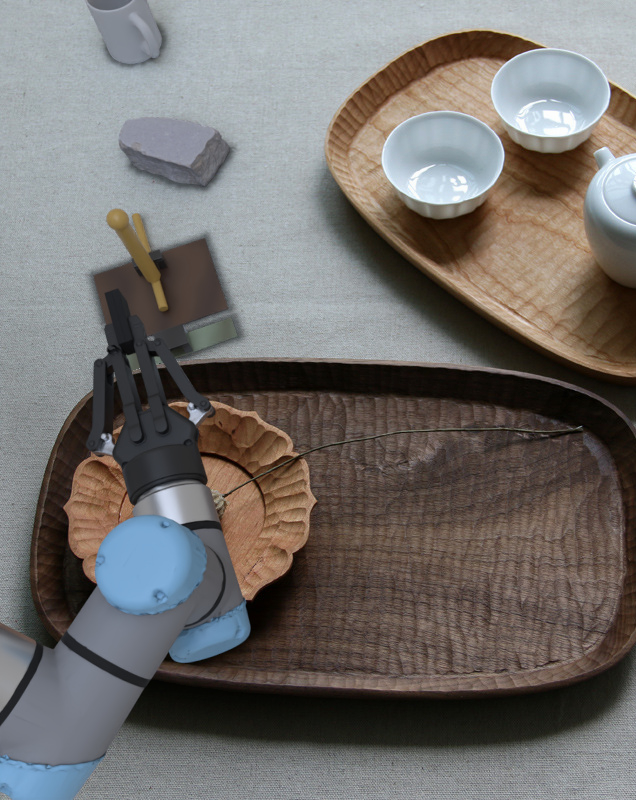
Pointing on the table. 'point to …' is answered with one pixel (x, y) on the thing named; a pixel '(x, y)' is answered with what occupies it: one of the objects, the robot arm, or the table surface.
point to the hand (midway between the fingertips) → (115, 297)
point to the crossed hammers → (138, 249)
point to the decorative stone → (174, 148)
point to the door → (172, 299)
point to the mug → (127, 29)
